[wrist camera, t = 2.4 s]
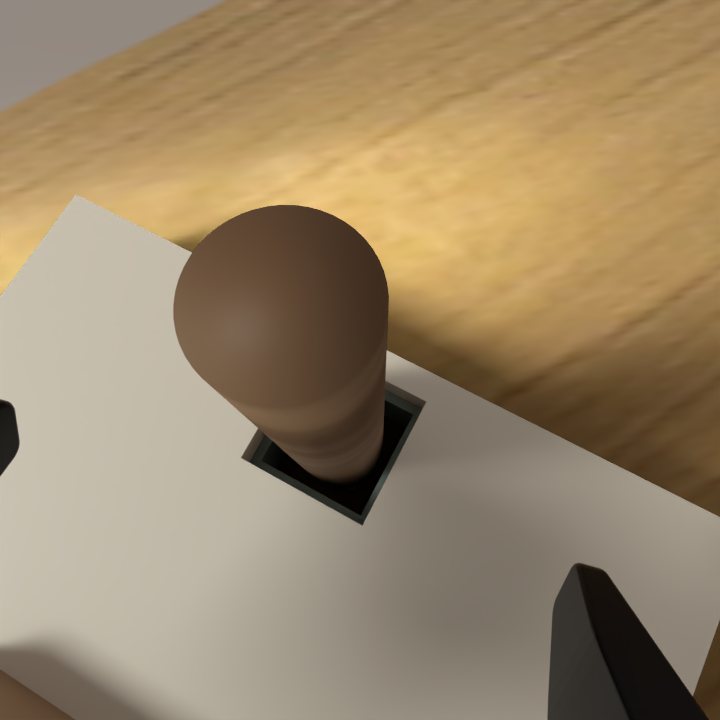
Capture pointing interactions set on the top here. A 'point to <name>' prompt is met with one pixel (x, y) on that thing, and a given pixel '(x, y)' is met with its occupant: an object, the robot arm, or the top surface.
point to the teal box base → (270, 458)
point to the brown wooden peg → (293, 334)
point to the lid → (288, 530)
